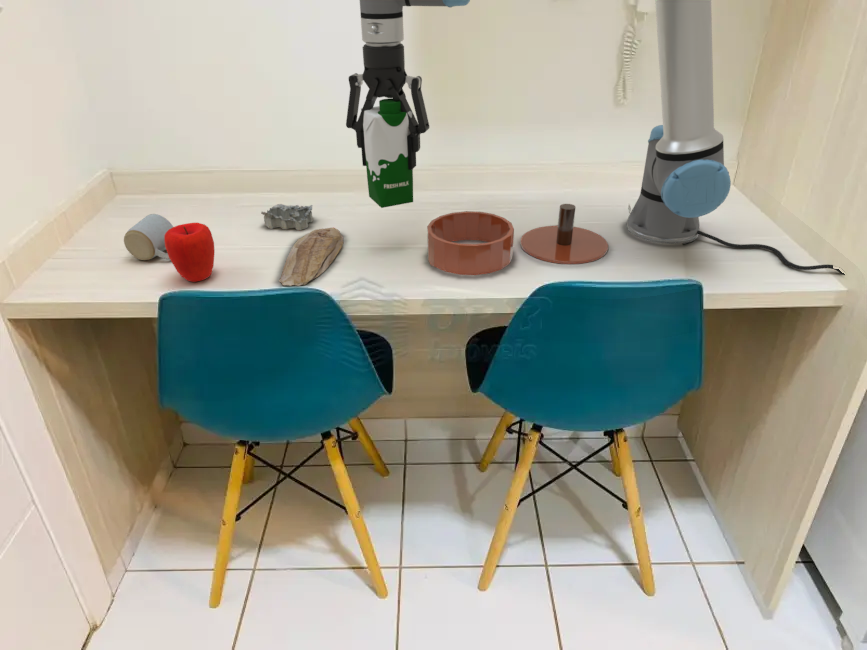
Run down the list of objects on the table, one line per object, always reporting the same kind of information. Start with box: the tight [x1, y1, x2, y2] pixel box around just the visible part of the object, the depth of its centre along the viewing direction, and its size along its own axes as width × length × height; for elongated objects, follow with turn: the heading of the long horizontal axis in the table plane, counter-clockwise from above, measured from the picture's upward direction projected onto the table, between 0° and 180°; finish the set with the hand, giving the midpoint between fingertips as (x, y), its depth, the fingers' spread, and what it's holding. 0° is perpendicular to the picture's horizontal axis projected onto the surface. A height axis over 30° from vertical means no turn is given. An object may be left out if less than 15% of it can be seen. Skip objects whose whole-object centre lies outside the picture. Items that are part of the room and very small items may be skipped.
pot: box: [426, 210, 515, 276], centre depth 128 cm, size 17×17×7 cm
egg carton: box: [260, 203, 314, 231], centre depth 146 cm, size 11×8×4 cm
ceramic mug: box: [123, 213, 174, 261], centre depth 131 cm, size 11×8×8 cm
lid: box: [519, 203, 609, 265], centre depth 131 cm, size 18×18×9 cm
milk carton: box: [360, 98, 414, 209], centre depth 124 cm, size 9×9×20 cm
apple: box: [165, 222, 215, 283], centre depth 122 cm, size 9×9×11 cm
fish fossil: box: [278, 227, 344, 287], centre depth 131 cm, size 26×10×1 cm, turn 179°
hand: (389, 165), depth 126 cm, fingers closed on milk carton, 9 cm apart
